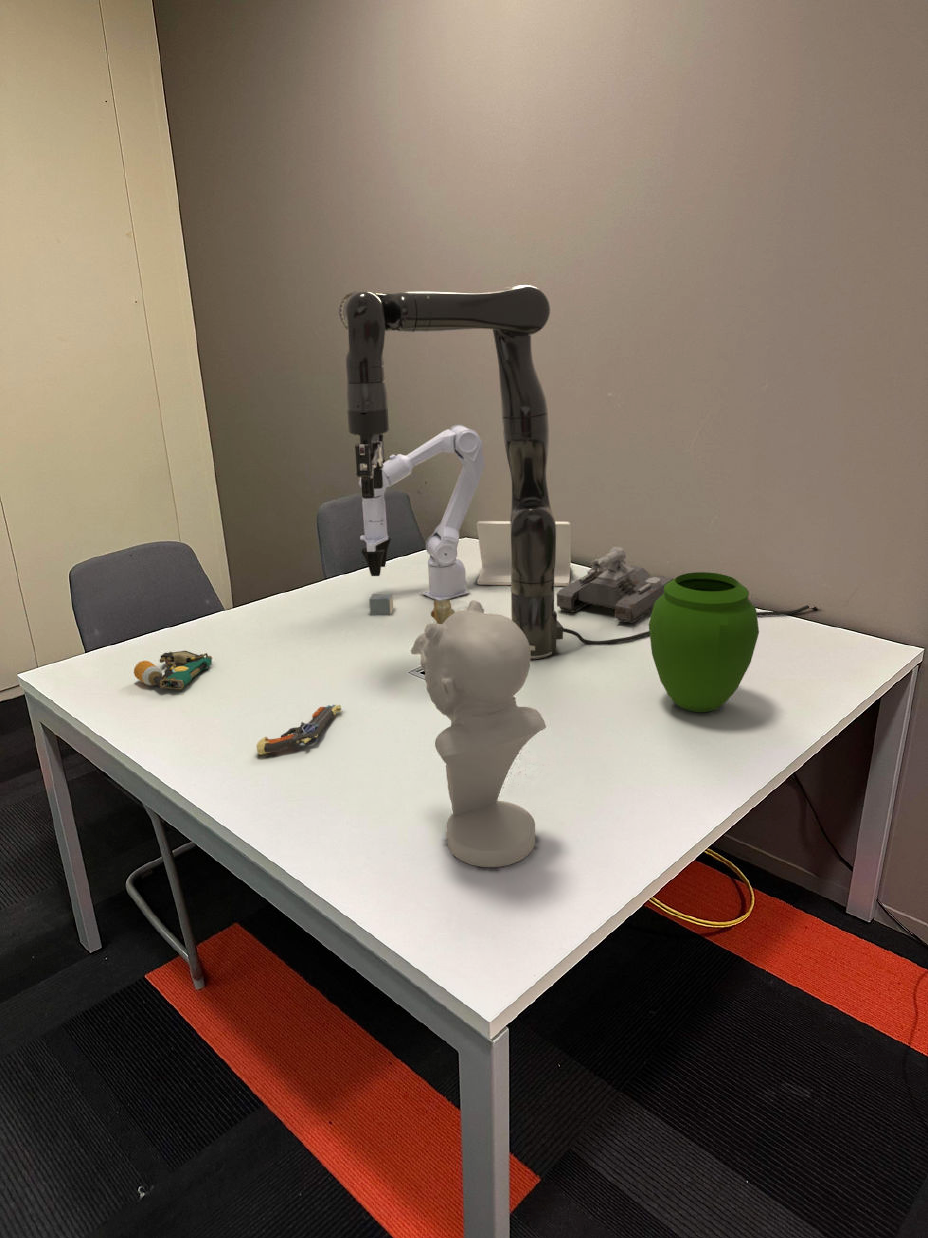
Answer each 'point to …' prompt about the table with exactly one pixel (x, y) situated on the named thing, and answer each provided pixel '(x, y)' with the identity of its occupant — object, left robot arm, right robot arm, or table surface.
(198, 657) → the spray gun
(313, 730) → the toy gun
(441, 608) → the sculpture
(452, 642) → the bust sculpture
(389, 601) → the block
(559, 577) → the tablet stand
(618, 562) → the toy
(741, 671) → the vase
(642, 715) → the table surface
